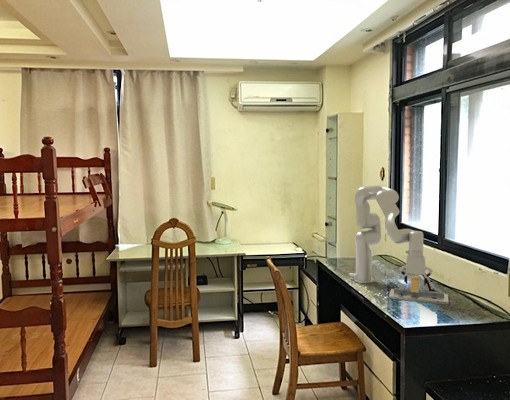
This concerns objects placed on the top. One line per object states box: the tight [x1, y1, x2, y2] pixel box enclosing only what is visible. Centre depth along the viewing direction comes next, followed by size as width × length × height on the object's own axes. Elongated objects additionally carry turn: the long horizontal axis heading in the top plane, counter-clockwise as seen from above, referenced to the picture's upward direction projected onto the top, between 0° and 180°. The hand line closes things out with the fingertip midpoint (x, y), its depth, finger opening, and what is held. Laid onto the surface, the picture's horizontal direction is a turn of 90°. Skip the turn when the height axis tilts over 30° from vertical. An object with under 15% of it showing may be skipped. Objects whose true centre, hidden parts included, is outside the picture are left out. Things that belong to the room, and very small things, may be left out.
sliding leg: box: [410, 275, 420, 296], centre depth 241 cm, size 4×7×9 cm, turn 158°
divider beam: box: [393, 285, 445, 297], centre depth 241 cm, size 26×7×3 cm, turn 68°
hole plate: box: [388, 288, 450, 306], centre depth 240 cm, size 30×14×2 cm, turn 68°
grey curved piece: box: [413, 274, 436, 291], centre depth 260 cm, size 17×5×10 cm, turn 2°
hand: (415, 283), depth 241 cm, fingers open, 9 cm apart
